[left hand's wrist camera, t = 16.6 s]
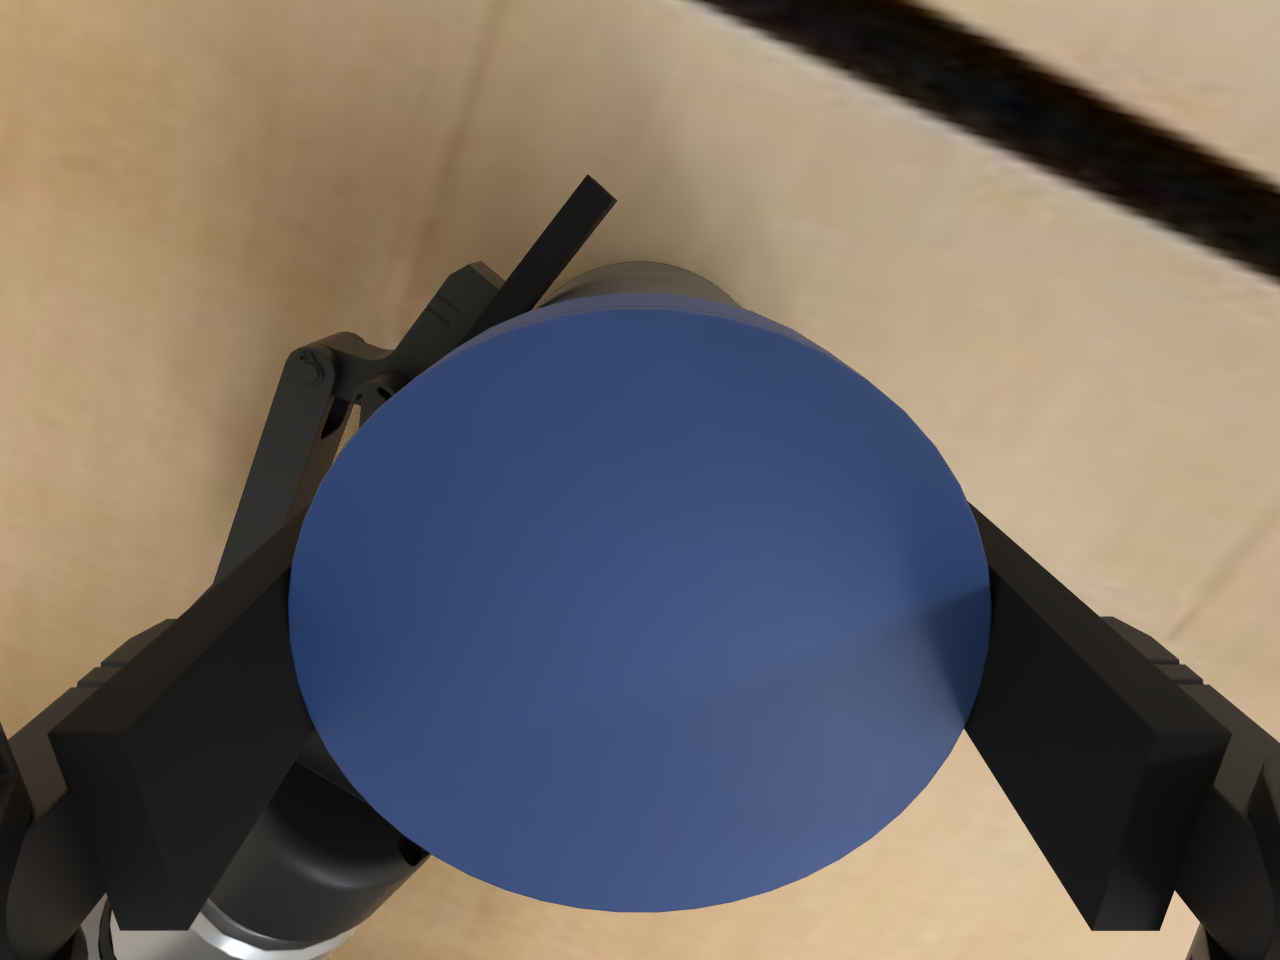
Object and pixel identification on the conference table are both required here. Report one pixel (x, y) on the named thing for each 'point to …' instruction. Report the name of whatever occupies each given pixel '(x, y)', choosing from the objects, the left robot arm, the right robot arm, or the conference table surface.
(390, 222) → the conference table surface
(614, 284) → the jar
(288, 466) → the right robot arm
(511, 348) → the lid
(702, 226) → the conference table surface
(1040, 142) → the conference table surface
